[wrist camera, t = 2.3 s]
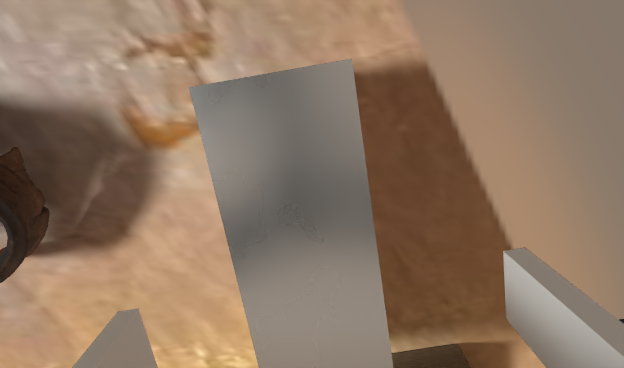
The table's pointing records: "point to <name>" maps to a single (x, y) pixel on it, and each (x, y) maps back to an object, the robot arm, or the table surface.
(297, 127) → the grey notched block
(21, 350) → the table surface
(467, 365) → the rail
